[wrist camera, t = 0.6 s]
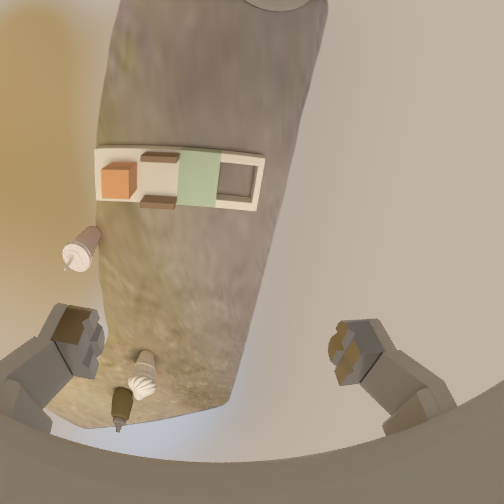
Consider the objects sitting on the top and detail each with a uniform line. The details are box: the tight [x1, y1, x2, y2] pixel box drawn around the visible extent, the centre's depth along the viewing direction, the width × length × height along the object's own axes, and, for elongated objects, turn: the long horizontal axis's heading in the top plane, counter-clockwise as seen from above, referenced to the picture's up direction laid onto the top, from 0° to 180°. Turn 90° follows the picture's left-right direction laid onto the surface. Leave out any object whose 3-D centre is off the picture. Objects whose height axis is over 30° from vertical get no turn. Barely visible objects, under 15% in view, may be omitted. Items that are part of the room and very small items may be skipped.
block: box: [101, 162, 137, 199], centre depth 41 cm, size 5×5×5 cm
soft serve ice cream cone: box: [128, 350, 157, 400], centre depth 67 cm, size 8×8×16 cm
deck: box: [94, 145, 265, 211], centre depth 45 cm, size 10×30×6 cm, turn 81°
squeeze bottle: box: [111, 388, 133, 432], centre depth 78 cm, size 8×8×18 cm
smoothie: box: [63, 226, 101, 272], centre depth 46 cm, size 6×6×14 cm
